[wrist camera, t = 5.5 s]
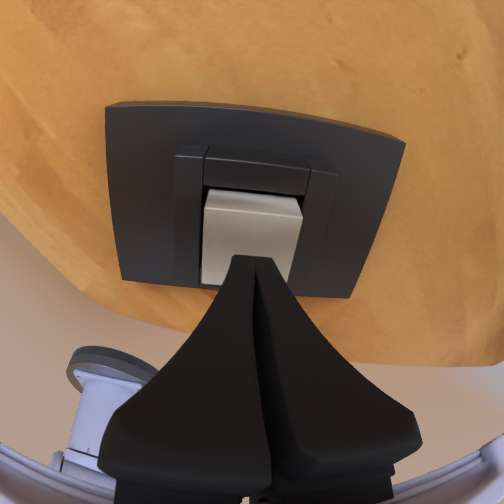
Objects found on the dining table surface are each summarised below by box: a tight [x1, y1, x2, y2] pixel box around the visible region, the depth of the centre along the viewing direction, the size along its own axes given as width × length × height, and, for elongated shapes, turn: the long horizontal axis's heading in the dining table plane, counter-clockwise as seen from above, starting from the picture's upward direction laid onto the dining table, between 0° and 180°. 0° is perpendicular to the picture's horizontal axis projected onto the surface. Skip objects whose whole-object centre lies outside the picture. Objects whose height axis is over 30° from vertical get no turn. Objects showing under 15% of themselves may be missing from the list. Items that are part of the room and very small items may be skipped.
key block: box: [105, 101, 406, 298], centre depth 14 cm, size 10×14×4 cm
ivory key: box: [202, 189, 303, 285], centre depth 12 cm, size 4×4×2 cm
